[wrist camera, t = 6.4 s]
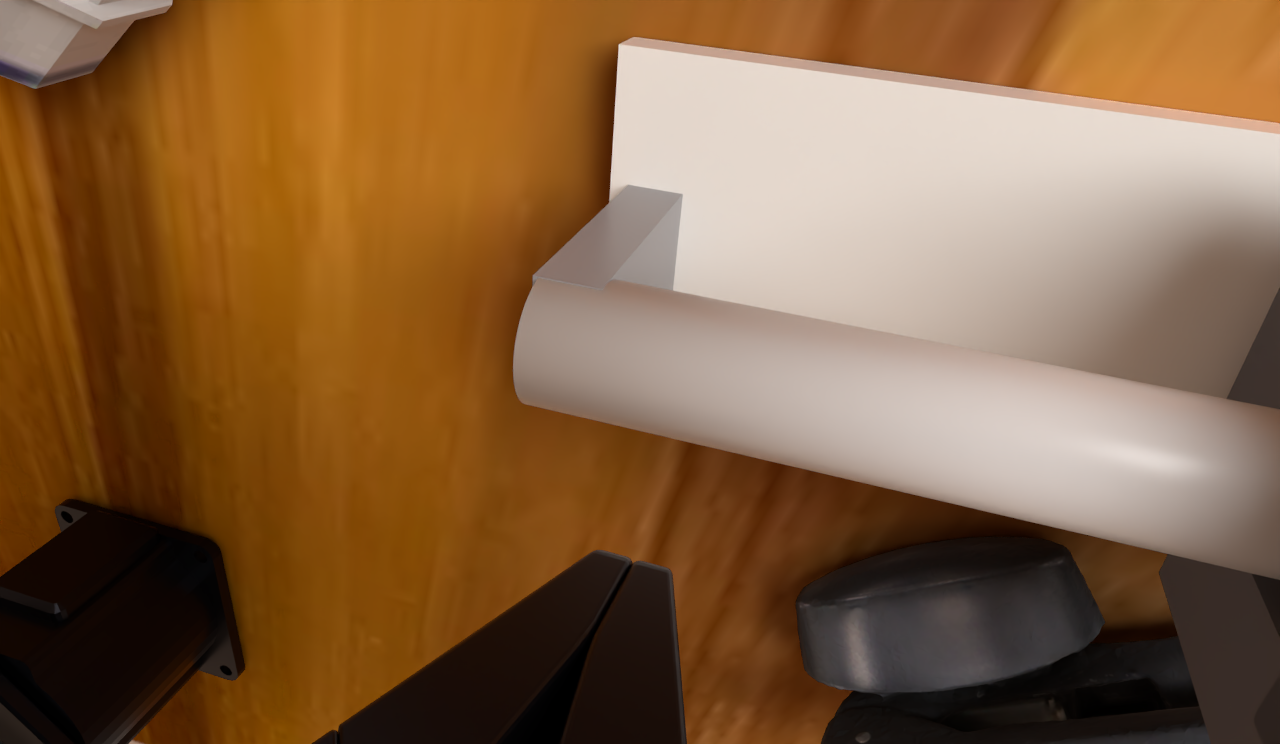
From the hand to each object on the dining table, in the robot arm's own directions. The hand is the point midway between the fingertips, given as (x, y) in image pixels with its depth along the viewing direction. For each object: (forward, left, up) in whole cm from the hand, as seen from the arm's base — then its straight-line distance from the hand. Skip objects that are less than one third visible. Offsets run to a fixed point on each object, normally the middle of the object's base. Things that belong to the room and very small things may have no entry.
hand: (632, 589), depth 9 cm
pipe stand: (-1, -6, -12) cm, 13 cm away
